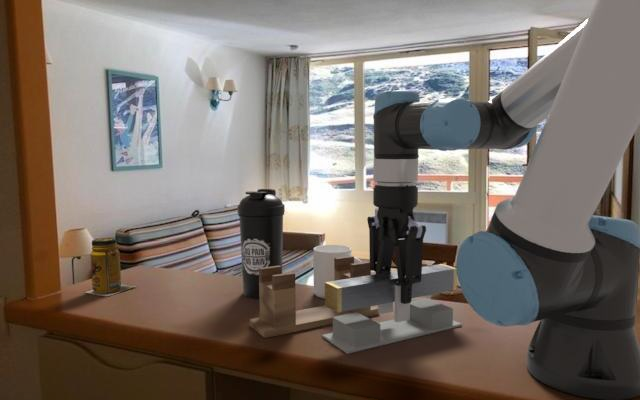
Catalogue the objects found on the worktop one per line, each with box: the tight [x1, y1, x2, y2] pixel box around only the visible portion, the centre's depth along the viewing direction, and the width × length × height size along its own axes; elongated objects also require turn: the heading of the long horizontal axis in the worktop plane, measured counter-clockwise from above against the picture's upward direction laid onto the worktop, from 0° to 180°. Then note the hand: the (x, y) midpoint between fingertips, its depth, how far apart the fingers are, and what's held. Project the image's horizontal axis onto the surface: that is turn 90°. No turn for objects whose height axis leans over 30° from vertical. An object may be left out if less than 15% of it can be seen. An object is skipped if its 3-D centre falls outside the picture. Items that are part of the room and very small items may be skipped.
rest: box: [321, 298, 463, 355], centre depth 90 cm, size 8×24×3 cm, turn 119°
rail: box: [324, 263, 458, 313], centre depth 89 cm, size 26×4×4 cm, turn 119°
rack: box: [249, 255, 380, 339], centre depth 95 cm, size 7×24×10 cm, turn 119°
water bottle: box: [237, 188, 286, 300], centre depth 112 cm, size 10×10×23 cm
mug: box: [312, 244, 362, 300], centre depth 111 cm, size 12×8×10 cm
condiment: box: [84, 237, 137, 297], centre depth 116 cm, size 7×8×12 cm
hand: (393, 316), depth 90 cm, fingers closed on rail, 4 cm apart
